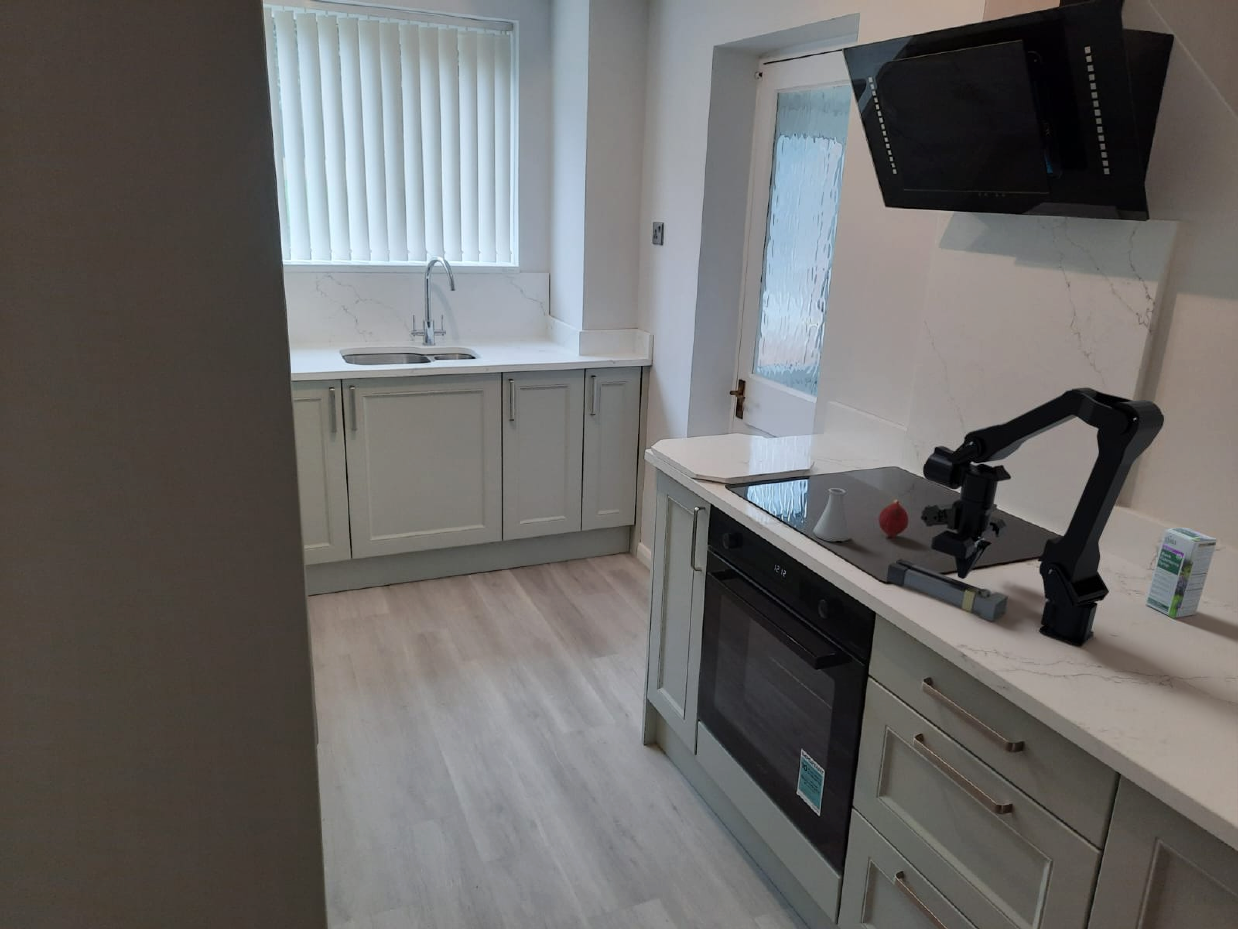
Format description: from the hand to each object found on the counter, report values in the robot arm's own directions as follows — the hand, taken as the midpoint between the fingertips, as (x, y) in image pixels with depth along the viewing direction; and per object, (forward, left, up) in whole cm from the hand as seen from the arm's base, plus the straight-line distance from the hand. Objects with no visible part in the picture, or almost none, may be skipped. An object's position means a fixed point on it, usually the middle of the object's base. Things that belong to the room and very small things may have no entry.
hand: (961, 577), depth 155 cm
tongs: (0, +8, -1) cm, 8 cm away
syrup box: (-29, -20, -1) cm, 35 cm away
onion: (+20, -11, -1) cm, 23 cm away
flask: (+28, -1, -1) cm, 28 cm away
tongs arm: (+1, +7, -1) cm, 7 cm away
